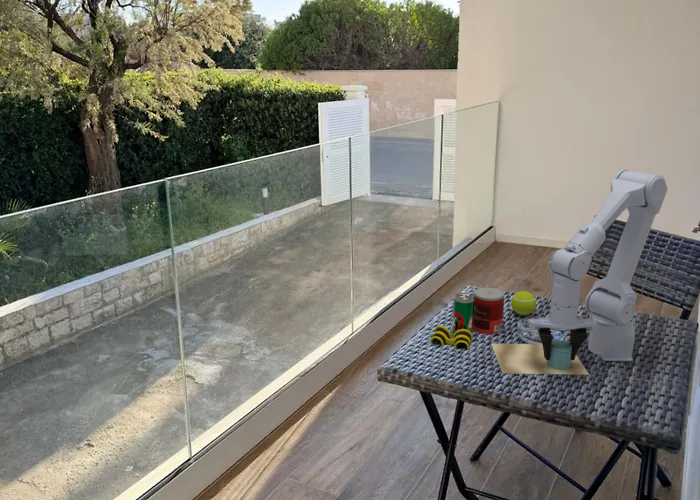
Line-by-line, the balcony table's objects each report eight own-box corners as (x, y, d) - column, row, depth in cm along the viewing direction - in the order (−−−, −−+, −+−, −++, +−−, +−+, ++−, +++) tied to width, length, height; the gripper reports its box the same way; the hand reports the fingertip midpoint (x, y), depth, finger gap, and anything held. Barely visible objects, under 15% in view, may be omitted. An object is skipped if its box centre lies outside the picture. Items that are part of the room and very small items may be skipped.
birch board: (568, 349, 150) (569, 344, 150) (588, 379, 136) (589, 374, 135) (490, 347, 151) (491, 343, 151) (502, 377, 137) (502, 373, 136)
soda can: (472, 344, 153) (474, 300, 149) (451, 343, 154) (453, 298, 150) (472, 336, 158) (474, 292, 154) (452, 334, 159) (454, 291, 155)
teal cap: (565, 359, 142) (568, 339, 141) (573, 369, 138) (575, 349, 136) (544, 359, 142) (546, 340, 141) (550, 369, 138) (552, 349, 136)
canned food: (500, 326, 163) (503, 287, 160) (502, 339, 156) (505, 299, 152) (471, 324, 165) (473, 286, 161) (471, 337, 157) (473, 297, 154)
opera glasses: (429, 350, 152) (429, 334, 150) (435, 338, 156) (434, 322, 154) (468, 357, 149) (468, 340, 146) (472, 344, 153) (473, 328, 150)
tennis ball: (538, 318, 168) (540, 296, 166) (514, 319, 168) (516, 296, 166) (530, 309, 174) (532, 287, 172) (507, 309, 174) (509, 287, 172)
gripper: (591, 296, 139) (585, 350, 143) (527, 296, 140) (522, 350, 144) (602, 308, 132) (595, 364, 137) (535, 308, 133) (530, 364, 137)
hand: (559, 358), depth 140 cm, fingers closed on teal cap, 5 cm apart
